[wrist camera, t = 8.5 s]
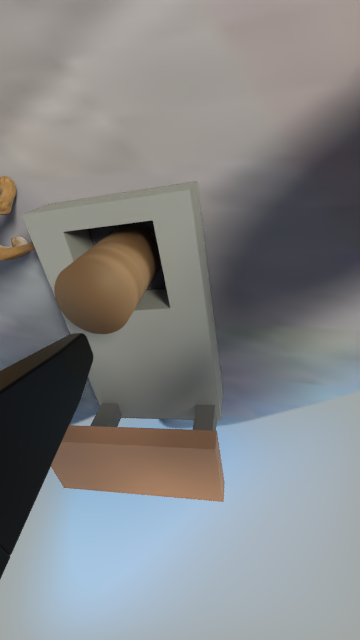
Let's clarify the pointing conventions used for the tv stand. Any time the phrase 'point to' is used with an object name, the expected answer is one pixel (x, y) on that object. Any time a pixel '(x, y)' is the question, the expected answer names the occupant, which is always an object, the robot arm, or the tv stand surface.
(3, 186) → the lion figurine
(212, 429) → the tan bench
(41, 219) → the socket block
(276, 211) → the tv stand surface
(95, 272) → the peg
